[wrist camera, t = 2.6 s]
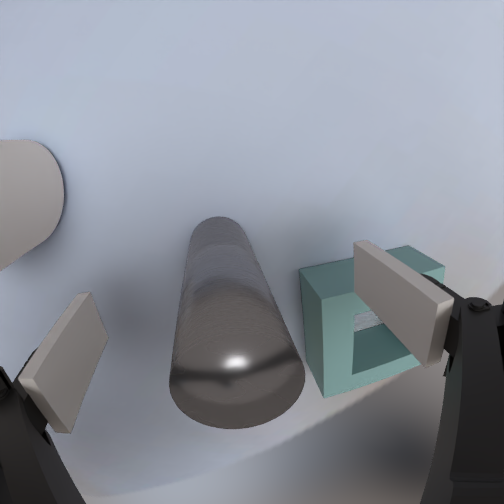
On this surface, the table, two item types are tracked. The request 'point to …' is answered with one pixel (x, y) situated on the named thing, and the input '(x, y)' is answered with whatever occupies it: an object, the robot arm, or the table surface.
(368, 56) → the table surface
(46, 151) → the beverage can
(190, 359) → the long pin
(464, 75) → the table surface
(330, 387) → the hole block
